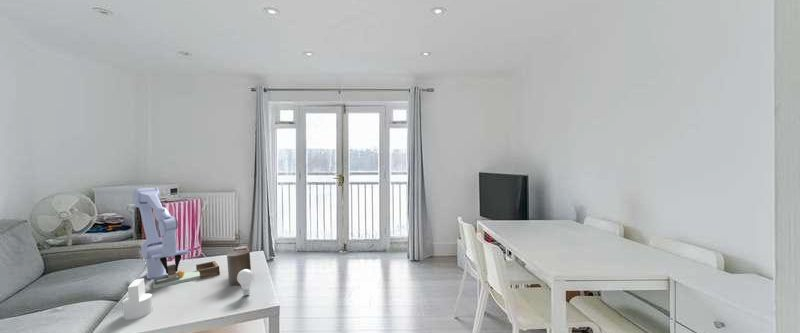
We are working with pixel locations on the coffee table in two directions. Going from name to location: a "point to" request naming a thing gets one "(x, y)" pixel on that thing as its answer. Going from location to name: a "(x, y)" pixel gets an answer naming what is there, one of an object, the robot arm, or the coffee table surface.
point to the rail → (165, 279)
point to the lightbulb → (245, 280)
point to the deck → (180, 279)
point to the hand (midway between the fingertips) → (171, 272)
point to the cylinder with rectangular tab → (137, 301)
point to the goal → (208, 269)
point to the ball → (180, 273)
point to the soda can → (241, 248)
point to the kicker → (171, 271)
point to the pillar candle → (237, 264)
